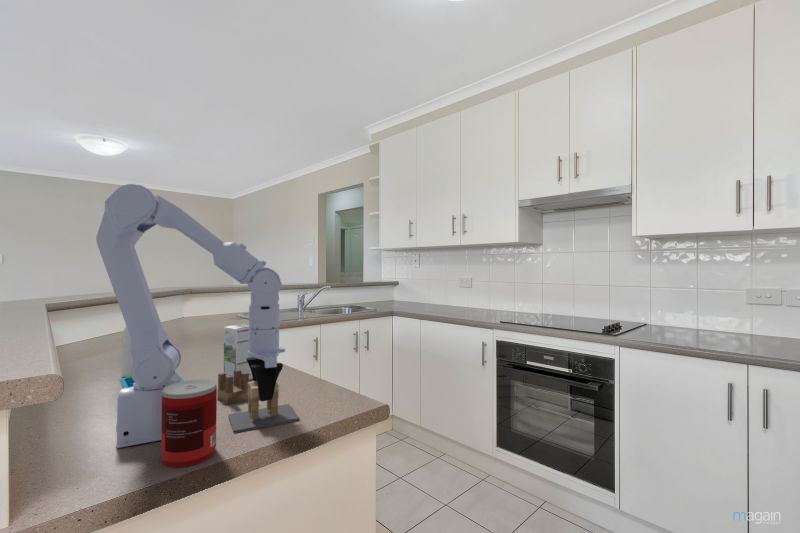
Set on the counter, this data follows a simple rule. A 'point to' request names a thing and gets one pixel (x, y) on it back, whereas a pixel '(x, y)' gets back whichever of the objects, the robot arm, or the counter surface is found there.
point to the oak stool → (254, 400)
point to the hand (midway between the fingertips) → (263, 396)
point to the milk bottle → (126, 354)
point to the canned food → (188, 422)
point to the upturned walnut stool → (233, 387)
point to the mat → (262, 418)
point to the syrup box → (236, 350)
